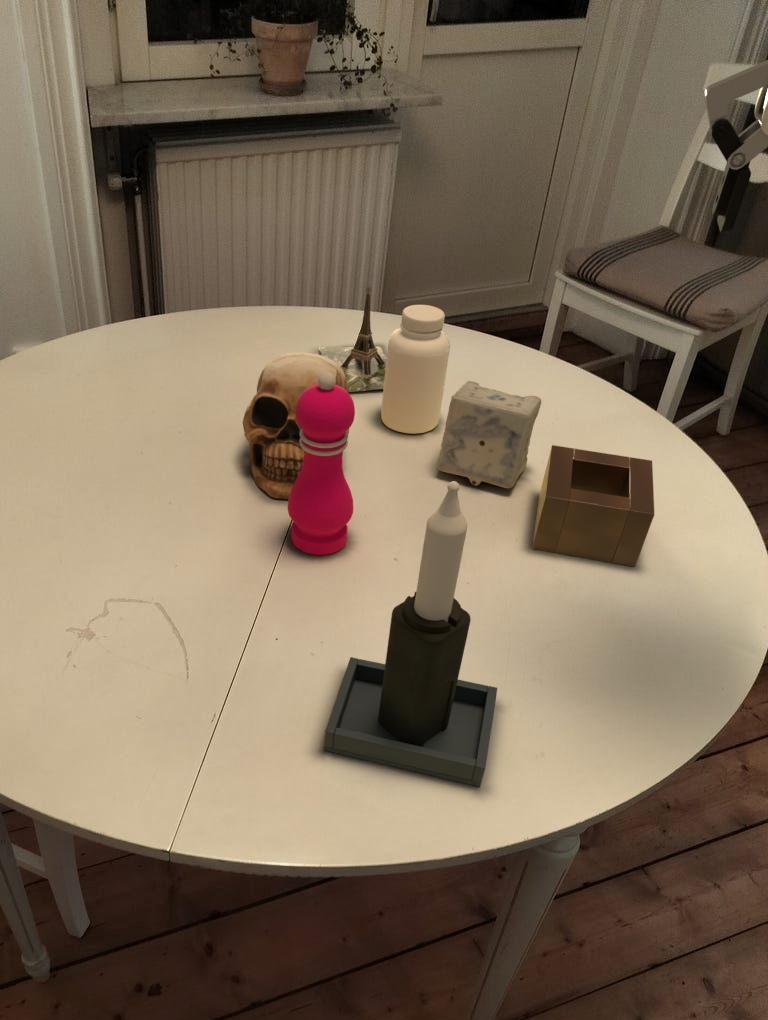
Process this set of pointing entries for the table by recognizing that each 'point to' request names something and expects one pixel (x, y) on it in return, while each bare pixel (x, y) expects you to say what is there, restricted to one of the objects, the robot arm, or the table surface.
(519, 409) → the incense holder
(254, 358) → the table surface
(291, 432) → the skull
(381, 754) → the tray
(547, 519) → the holder
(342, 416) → the pepper mill
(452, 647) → the candle
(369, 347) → the eiffel tower figurine
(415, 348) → the pill bottle
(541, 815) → the table surface
